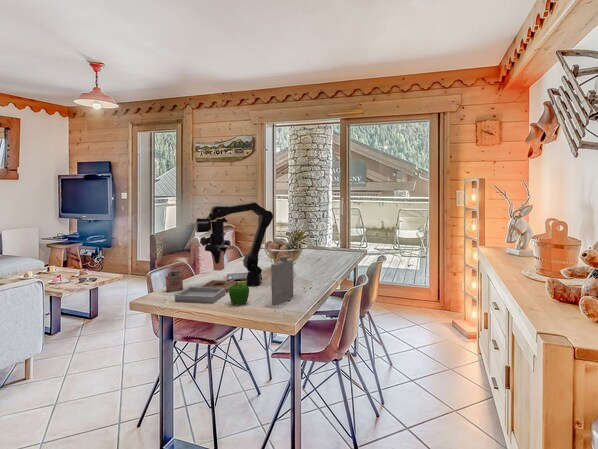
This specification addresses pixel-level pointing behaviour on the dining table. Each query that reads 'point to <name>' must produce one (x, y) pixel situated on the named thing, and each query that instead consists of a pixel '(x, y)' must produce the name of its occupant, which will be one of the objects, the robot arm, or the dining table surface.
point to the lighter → (174, 281)
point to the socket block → (220, 284)
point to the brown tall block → (219, 263)
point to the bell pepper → (239, 293)
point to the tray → (200, 295)
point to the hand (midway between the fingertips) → (218, 262)
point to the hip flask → (282, 280)
